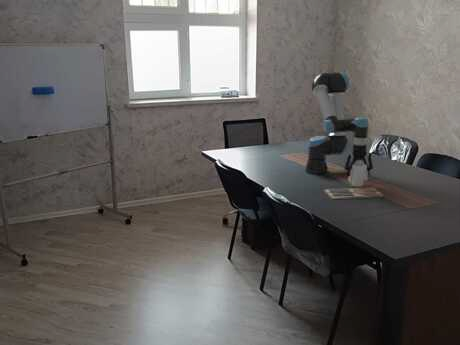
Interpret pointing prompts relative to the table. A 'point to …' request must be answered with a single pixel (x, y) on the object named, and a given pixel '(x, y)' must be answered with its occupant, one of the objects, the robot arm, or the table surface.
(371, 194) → the sorting board
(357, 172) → the foam cup
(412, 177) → the table surface
